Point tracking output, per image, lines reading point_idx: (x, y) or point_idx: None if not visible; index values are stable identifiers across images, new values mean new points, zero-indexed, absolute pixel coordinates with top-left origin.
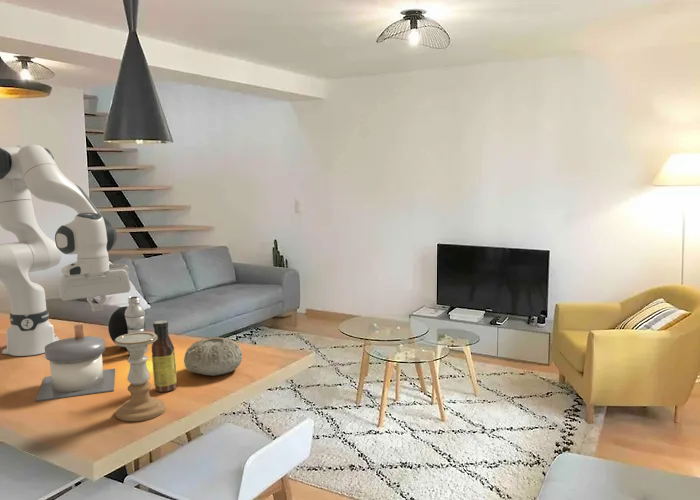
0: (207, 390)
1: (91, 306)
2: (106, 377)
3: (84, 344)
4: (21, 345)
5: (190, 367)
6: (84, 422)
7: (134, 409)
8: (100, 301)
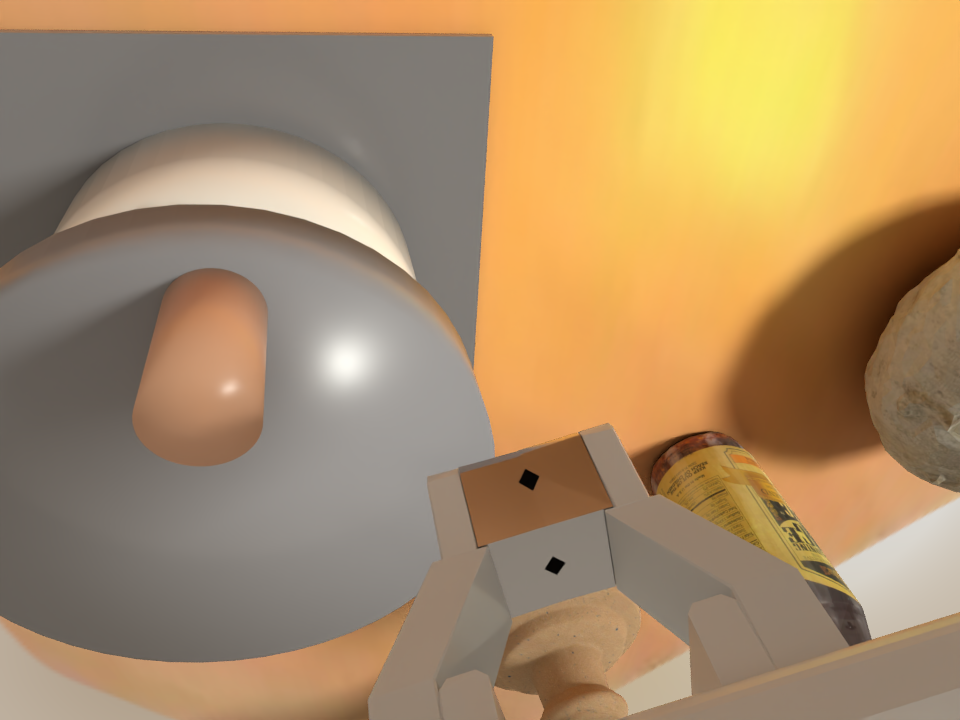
0: (823, 506)
1: (437, 537)
2: (428, 239)
3: (322, 531)
4: None
5: (874, 426)
6: (361, 666)
7: (536, 694)
8: (658, 560)
